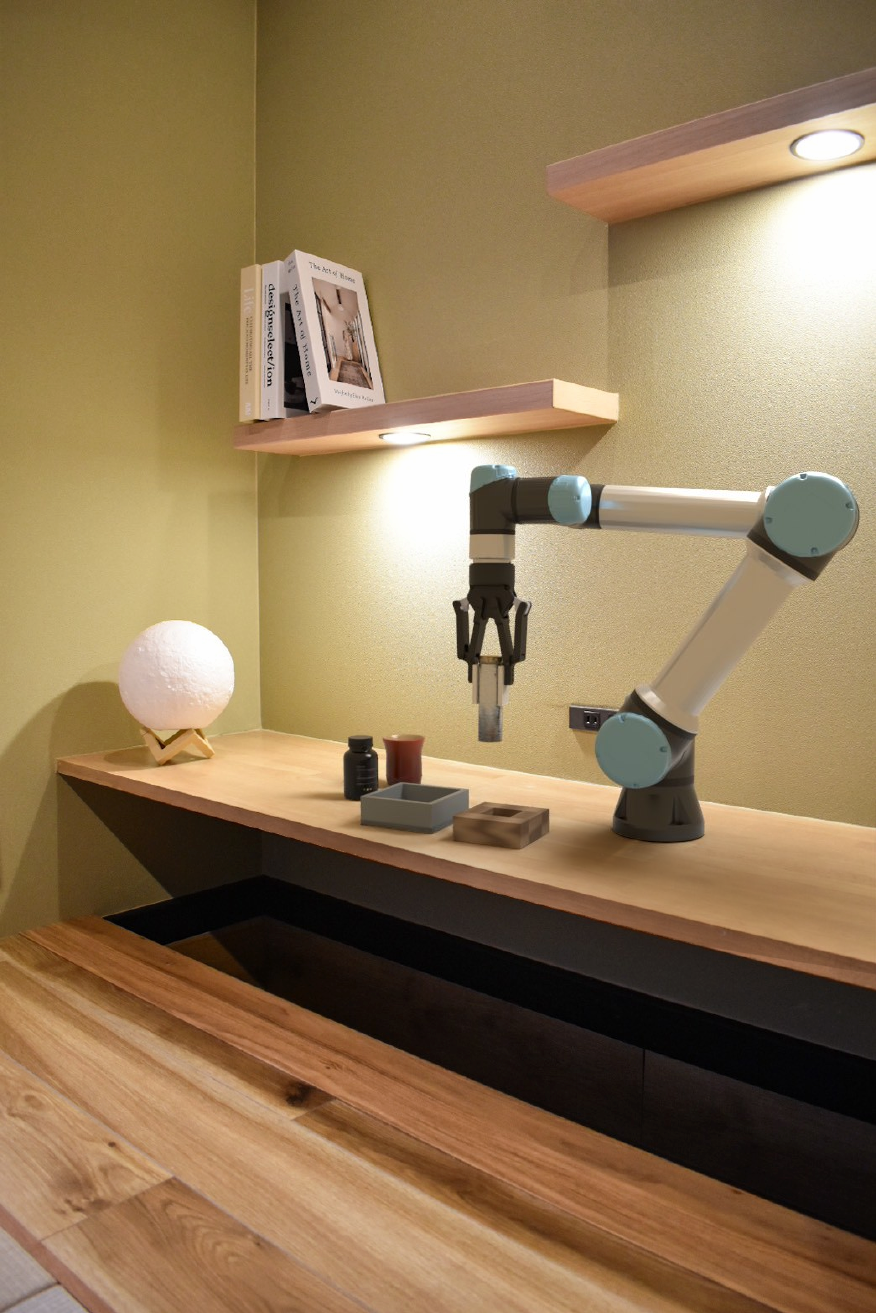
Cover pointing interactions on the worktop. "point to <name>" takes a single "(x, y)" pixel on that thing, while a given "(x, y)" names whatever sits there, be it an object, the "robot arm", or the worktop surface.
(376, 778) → the supplement bottle
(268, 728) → the worktop surface
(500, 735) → the pin
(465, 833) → the socket block
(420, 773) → the mug
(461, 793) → the tray
